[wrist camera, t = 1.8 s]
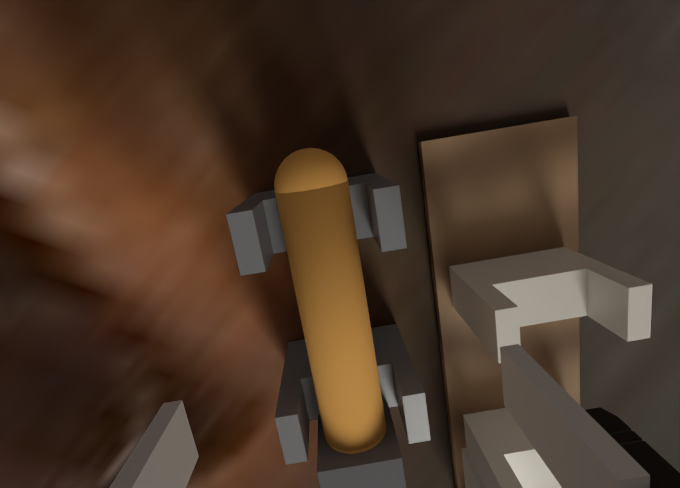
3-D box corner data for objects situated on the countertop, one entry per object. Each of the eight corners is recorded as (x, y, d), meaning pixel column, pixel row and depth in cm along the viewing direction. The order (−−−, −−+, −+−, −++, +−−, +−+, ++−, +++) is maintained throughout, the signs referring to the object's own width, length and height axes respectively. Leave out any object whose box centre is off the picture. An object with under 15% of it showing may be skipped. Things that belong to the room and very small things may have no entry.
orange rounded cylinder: (264, 154, 20) (249, 157, 16) (348, 141, 20) (354, 140, 16) (330, 472, 25) (331, 538, 21) (396, 461, 25) (411, 524, 21)
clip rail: (417, 142, 25) (420, 142, 25) (569, 116, 25) (577, 115, 25) (457, 506, 33) (460, 514, 32) (574, 486, 33) (580, 494, 32)
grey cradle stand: (255, 192, 26) (226, 214, 18) (375, 172, 26) (399, 185, 18) (295, 377, 29) (286, 464, 21) (401, 360, 29) (430, 440, 21)
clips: (443, 267, 27) (487, 312, 20) (569, 245, 27) (660, 282, 20) (467, 513, 32) (509, 619, 25) (573, 495, 32) (645, 596, 25)
